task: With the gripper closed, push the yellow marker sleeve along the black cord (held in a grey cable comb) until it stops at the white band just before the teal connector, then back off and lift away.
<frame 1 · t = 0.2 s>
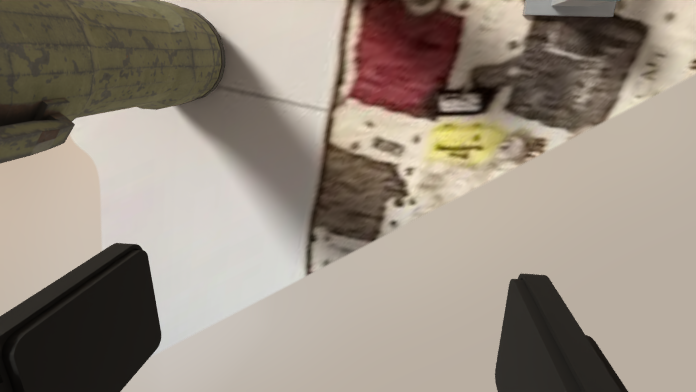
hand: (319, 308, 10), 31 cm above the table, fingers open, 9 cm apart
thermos: (183, 54, 40), on the table
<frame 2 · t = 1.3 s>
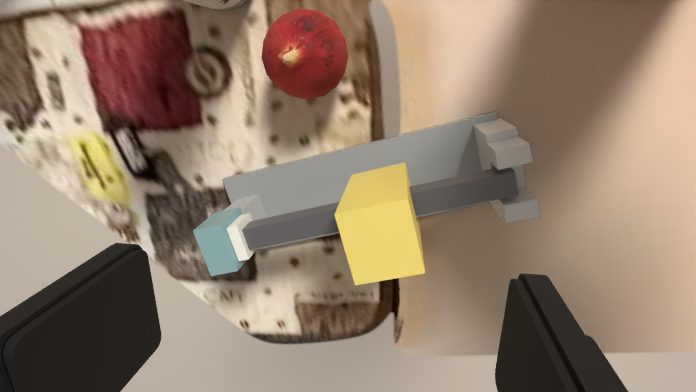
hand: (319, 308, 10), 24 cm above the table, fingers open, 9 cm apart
cord rig: (363, 186, 34), on the table
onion: (316, 56, 31), on the table
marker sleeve: (383, 217, 26), point 8 cm above the table, slide at 0.0 cm
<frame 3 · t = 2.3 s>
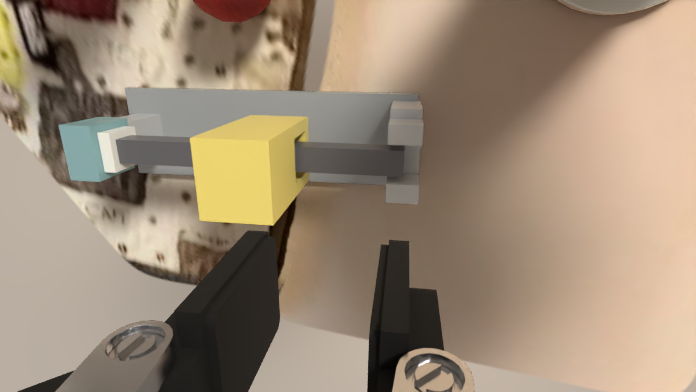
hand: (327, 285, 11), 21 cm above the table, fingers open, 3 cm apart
cord rig: (272, 135, 32), on the table
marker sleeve: (260, 162, 24), point 8 cm above the table, slide at 0.0 cm
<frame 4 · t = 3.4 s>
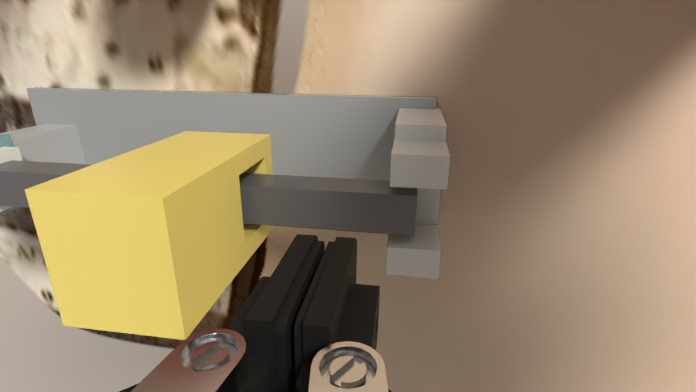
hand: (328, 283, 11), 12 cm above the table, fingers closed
cord rig: (230, 154, 23), on the table
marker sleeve: (185, 212, 15), point 8 cm above the table, slide at 0.0 cm
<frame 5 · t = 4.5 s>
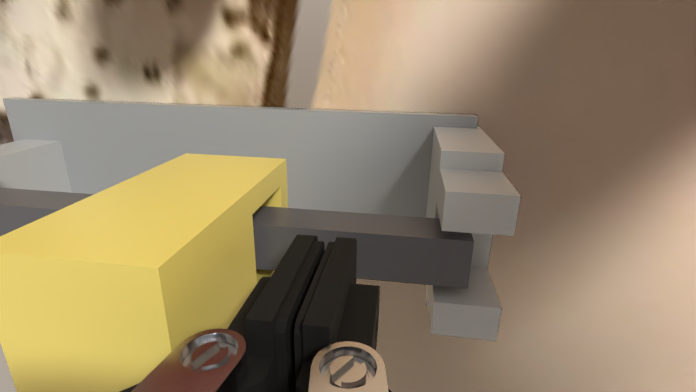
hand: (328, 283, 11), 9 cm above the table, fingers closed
cord rig: (236, 176, 20), on the table
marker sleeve: (186, 258, 12), point 8 cm above the table, slide at 0.1 cm, touching gripper
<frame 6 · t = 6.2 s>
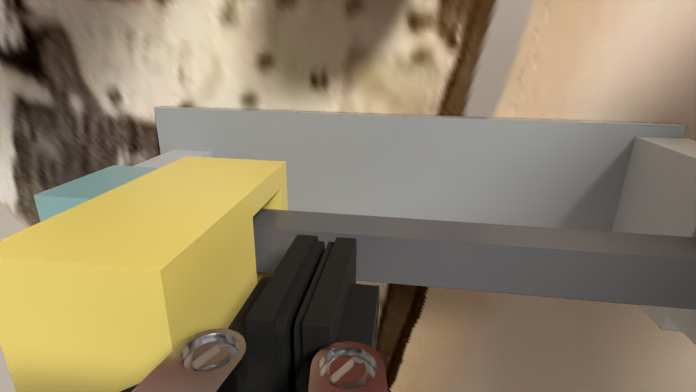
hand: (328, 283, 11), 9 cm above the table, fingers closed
cord rig: (398, 188, 19), on the table
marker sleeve: (186, 261, 12), point 8 cm above the table, slide at 8.2 cm, touching gripper
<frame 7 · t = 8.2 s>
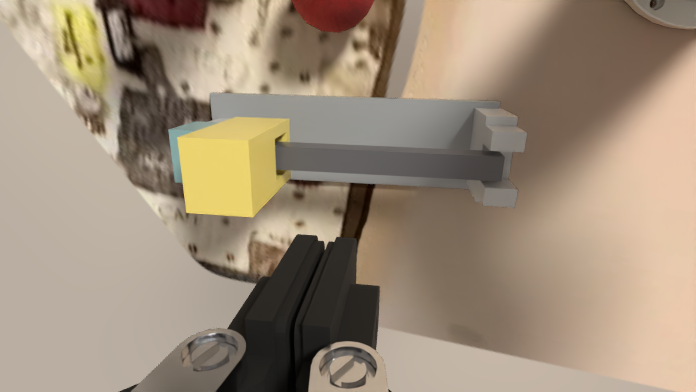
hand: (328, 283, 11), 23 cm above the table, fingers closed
cord rig: (351, 140, 33), on the table
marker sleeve: (243, 160, 26), point 8 cm above the table, slide at 8.0 cm
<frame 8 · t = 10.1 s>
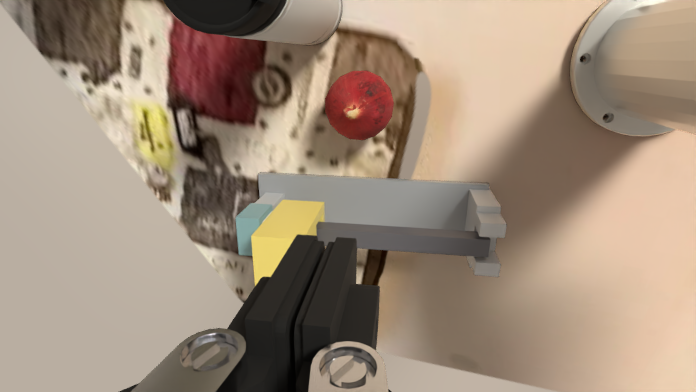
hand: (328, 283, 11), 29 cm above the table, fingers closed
cord rig: (370, 210, 42), on the table
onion: (363, 100, 38), on the table
travel mug: (310, 9, 36), on the table
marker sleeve: (292, 240, 35), point 8 cm above the table, slide at 8.0 cm
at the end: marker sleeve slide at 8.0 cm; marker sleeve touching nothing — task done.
